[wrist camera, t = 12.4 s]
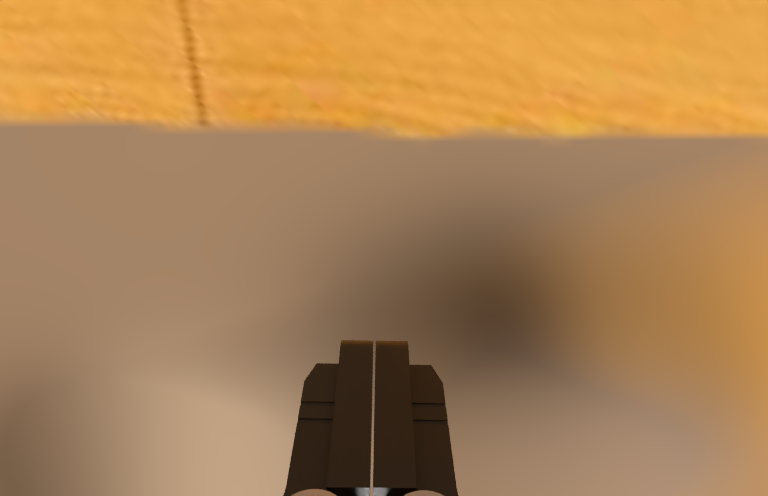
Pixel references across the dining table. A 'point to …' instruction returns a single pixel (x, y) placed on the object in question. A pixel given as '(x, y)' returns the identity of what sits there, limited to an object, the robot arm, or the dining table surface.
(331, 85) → the dining table surface
